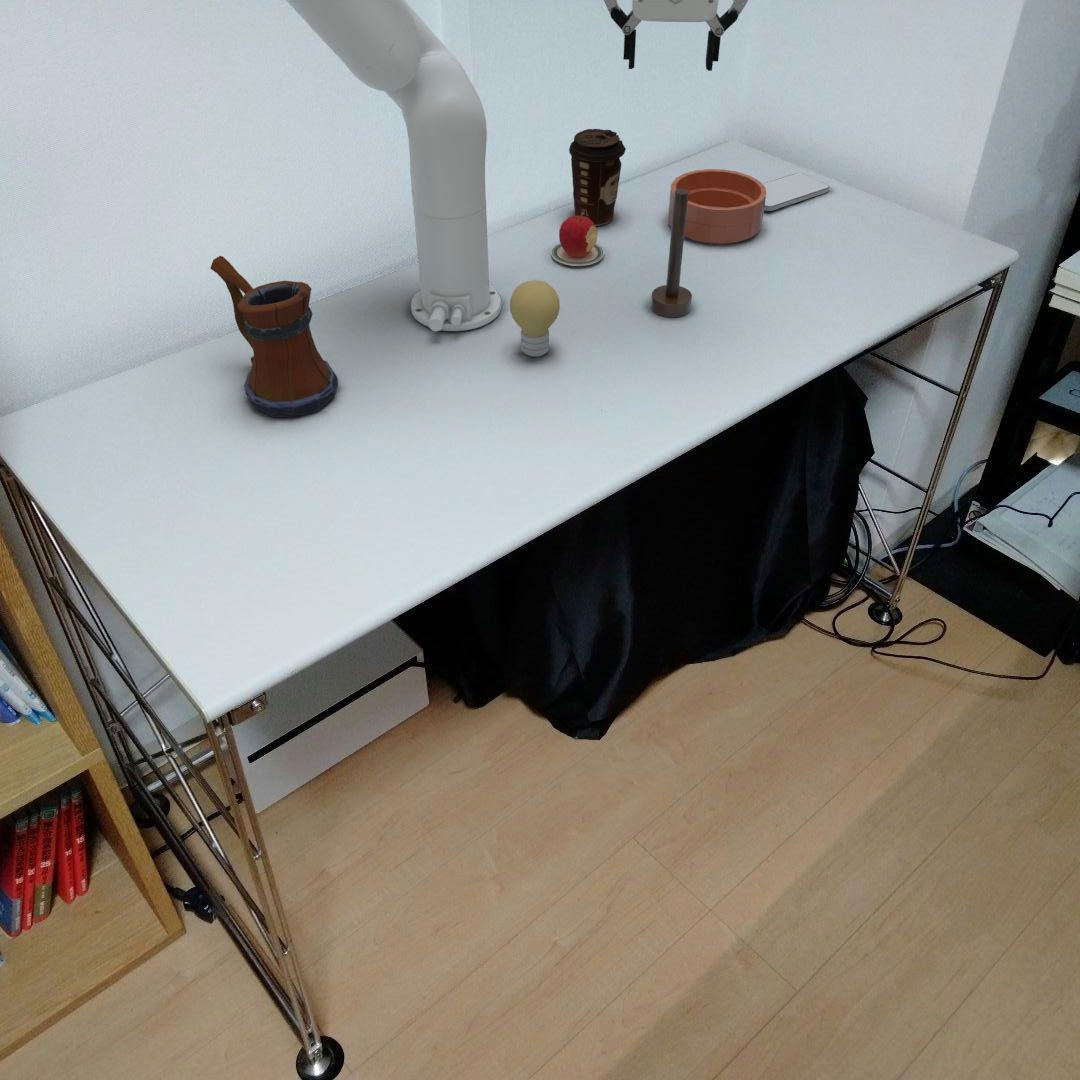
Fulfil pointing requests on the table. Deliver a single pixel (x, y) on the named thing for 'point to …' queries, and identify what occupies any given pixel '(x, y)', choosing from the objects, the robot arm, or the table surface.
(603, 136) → the coffee cup
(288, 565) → the table surface
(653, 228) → the table surface
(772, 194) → the smartphone
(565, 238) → the red apple in dish
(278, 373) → the mug
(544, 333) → the light bulb
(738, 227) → the bowl
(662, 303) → the dowel on round base
